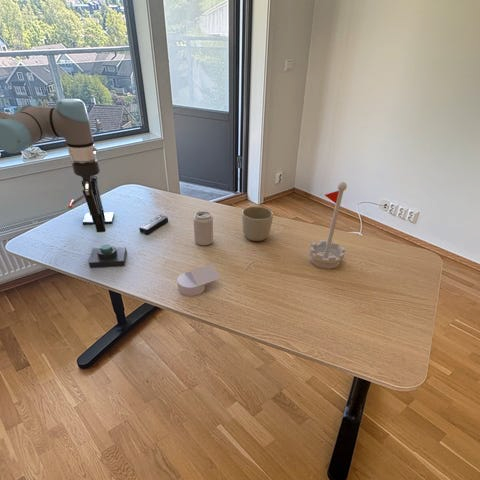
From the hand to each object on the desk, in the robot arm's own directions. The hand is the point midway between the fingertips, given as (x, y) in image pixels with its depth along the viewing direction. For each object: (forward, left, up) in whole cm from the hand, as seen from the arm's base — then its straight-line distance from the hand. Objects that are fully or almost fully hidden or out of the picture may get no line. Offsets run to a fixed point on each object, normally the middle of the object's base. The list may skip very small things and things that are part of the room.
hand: (101, 231), depth 120 cm
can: (+36, +10, -12) cm, 39 cm away
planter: (+58, +12, -12) cm, 61 cm away
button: (0, 0, -8) cm, 8 cm away
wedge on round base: (+31, -20, -12) cm, 39 cm away
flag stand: (+81, -9, -12) cm, 83 cm away
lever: (-12, +34, -2) cm, 36 cm away
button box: (0, 0, -12) cm, 12 cm away
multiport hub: (+16, +25, -12) cm, 32 cm away
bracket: (-8, +34, -12) cm, 37 cm away
